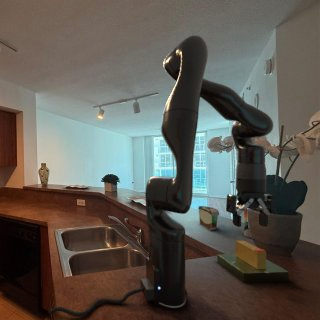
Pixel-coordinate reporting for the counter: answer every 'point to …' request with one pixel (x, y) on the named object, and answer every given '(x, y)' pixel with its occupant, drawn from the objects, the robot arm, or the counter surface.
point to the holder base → (252, 270)
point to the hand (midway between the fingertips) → (250, 225)
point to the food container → (208, 217)
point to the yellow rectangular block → (251, 254)
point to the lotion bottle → (246, 225)
